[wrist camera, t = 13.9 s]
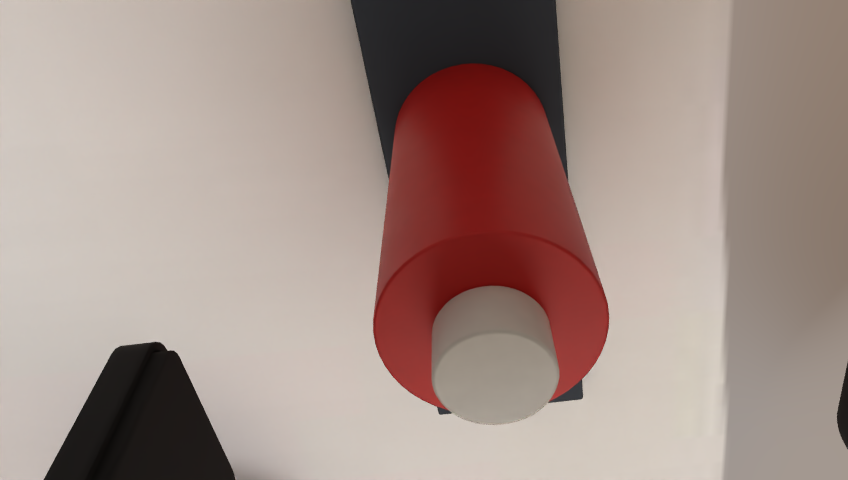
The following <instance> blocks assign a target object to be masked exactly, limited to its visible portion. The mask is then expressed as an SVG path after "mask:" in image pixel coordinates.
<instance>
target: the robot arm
mask: <svg viewBox="0 0 848 480" xmlns="http://www.w3.org/2000/svg"><path fill="white" fill-rule="evenodd" d="M837 423H838V428H839V432H840V434H841V437H842V440H843V441H844V443H845V445H846V447H847V449H848V364H847V368H846V373H845V378H844V383H843V387H842V392H841V397H840V402H839V407H838V412H837ZM44 480H235V477H234V473H233V470H232V468H231V466H230V463H229V461H228V459H227V457H226V455H225V453H224V451H223V449H222V446H221V444H220V442H219V440H218V438H217V436H216V434H215V432H214V429H213V427H212V425H211V423H210V421H209V419H208V417H207V415H206V412H205V410H204V408H203V406H202V404H201V402H200V400H199V398H198V395H197V393H196V391H195V389H194V387H193V385H192V383H191V381H190V378H189V376H188V374H187V372H186V370H185V368H184V366H183V364H182V361H181V359H180V357H179V356H178V354H177V353H176V352H175V351H167V349H166V348H165V346H164V345H163V344H161V343H160V342H152V343H143V344H135V345H126V346H120V347H118V348H116V349H115V350H114V351H113V353H112V354H111V356H110V358H109V360H108V362H107V363H106V365H105V367H104V369H103V371H102V373H101V374H100V376H99V378H98V380H97V382H96V384H95V386H94V387H93V389H92V391H91V393H90V395H89V397H88V399H87V400H86V402H85V404H84V406H83V408H82V410H81V412H80V413H79V415H78V417H77V419H76V421H75V423H74V425H73V426H72V428H71V430H70V432H69V434H68V436H67V438H66V439H65V441H64V443H63V445H62V447H61V449H60V451H59V452H58V454H57V456H56V458H55V460H54V462H53V464H52V465H51V467H50V469H49V471H48V473H47V475H46V476H45V478H44Z"/></svg>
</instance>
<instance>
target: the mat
mask: <svg viewBox="0 0 848 480" xmlns="http://www.w3.org/2000/svg"><path fill="white" fill-rule="evenodd" d="M351 4H352V9H353V14H354V18H355V23H356V28H357V32H358V37H359V42H360V47H361V51H362V56H363V61H364V65H365V70H366V75H367V79H368V84H369V89H370V93H371V98H372V103H373V107H374V112H375V117H376V122H377V126H378V131H379V136H380V140H381V145H382V150H383V154H384V159H385V164H386V168H387V173H388V178H389V177H390V169H391V160H392V151H393V142H394V133H395V126H396V121H397V117H398V114H399V111H400V109H401V107H402V105H403V103H404V101H405V100H406V98H407V97H408V95H409V94H410V93H411V92H412V91H413V89H414V88H415V87H416V86H417V85H418V84H420V83H421V82H422V81H423V80H425V79H426V78H427V77H429V76H430V75H432V74H434V73H436V72H438V71H440V70H442V69H445V68H448V67H451V66H456V65H460V64H470V63H474V64H486V65H492V66H495V67H499V68H502V69H504V70H507V71H509V72H511V73H513V74H514V75H516V76H517V77H519V78H521V79H522V80H523V81H524V82H525V83H526V84H528V85H529V86H530V88H531V89H532V90H533V91H534V92H535V94H536V95H537V97H538V98H539V100H540V102H541V104H542V106H543V108H544V111H545V114H546V117H547V120H548V123H549V126H550V129H551V132H552V135H553V138H554V141H555V144H556V147H557V150H558V153H559V156H560V159H561V162H562V165H563V168H564V171H565V175H566V178H567V181H568V173H567V159H566V144H565V130H564V115H563V101H562V86H561V72H560V57H559V43H558V29H557V14H556V0H351ZM582 398H583V390H582V379H581V380H580V381H579V382H578V383H577V384H576V385H575V386H573V387H572V388H571V389H570V390H568V391H567V392H565V393H564V394H562V395H560V396H559V397H557V398H555V399H553V400H551V401H549V402H548V403H551V402H560V401H569V400H578V399H582ZM437 408H438V412H439V414H441V415H442V414H451V413H452V412H450V411H449V410H446V409H443V408H440V407H437Z"/></svg>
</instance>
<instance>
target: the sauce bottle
mask: <svg viewBox="0 0 848 480" xmlns="http://www.w3.org/2000/svg"><path fill="white" fill-rule="evenodd" d="M608 328H609V311H608V303H607V300H606V297H605V293H604V290H603V287H602V284H601V281H600V278H599V275H598V272H597V269H596V266H595V263H594V260H593V257H592V254H591V251H590V248H589V245H588V241H587V238H586V235H585V232H584V229H583V226H582V223H581V220H580V217H579V214H578V211H577V208H576V205H575V202H574V199H573V196H572V193H571V190H570V187H569V184H568V181H567V178H566V175H565V171H564V168H563V165H562V162H561V159H560V156H559V153H558V150H557V147H556V144H555V141H554V138H553V135H552V132H551V129H550V126H549V123H548V120H547V117H546V114H545V111H544V108H543V106H542V104H541V102H540V100H539V98H538V97H537V95H536V94H535V92H534V91H533V90H532V89H531V88H530V86H529V85H528V84H526V83H525V82H524V81H523V80H522V79H521V78H519V77H517V76H516V75H514V74H513V73H511V72H509V71H507V70H504V69H502V68H499V67H495V66H492V65H486V64H474V63H470V64H460V65H456V66H451V67H448V68H445V69H442V70H440V71H438V72H436V73H434V74H432V75H430V76H429V77H427V78H426V79H425V80H423V81H422V82H421V83H420V84H418V85H417V86H416V87H415V88H414V89H413V91H412V92H411V93H410V94H409V95H408V97H407V98H406V100H405V101H404V103H403V105H402V107H401V109H400V111H399V114H398V117H397V121H396V126H395V133H394V142H393V151H392V160H391V169H390V177H389V186H388V195H387V204H386V213H385V221H384V230H383V239H382V248H381V257H380V265H379V274H378V283H377V292H376V301H375V309H374V318H373V333H374V338H375V344H376V347H377V350H378V353H379V355H380V357H381V359H382V361H383V363H384V365H385V367H386V368H387V369H388V371H389V372H390V373H391V375H392V376H393V377H394V378H395V379H396V380H397V381H398V382H399V383H400V384H401V385H402V386H403V387H404V388H405V389H407V390H408V391H409V392H410V393H412V394H413V395H415V396H417V397H418V398H420V399H422V400H423V401H426V402H428V403H430V404H432V405H434V406H437V407H440V408H443V409H446V410H449V411H450V412H452V413H453V414H455V415H456V416H458V417H460V418H462V419H465V420H468V421H471V422H475V423H479V424H488V425H498V424H507V423H512V422H516V421H519V420H522V419H525V418H527V417H529V416H531V415H533V414H534V413H536V412H538V411H539V410H540V409H541V408H543V407H544V406H545V405H546V404H547V403H548V402H549V401H551V400H553V399H555V398H557V397H559V396H560V395H562V394H564V393H565V392H567V391H568V390H570V389H571V388H572V387H573V386H575V385H576V384H577V383H578V382H579V381H580V380H581V379H582V378H583V377H584V376H585V375H586V374H587V373H588V372H589V371H590V369H591V368H592V367H593V365H594V364H595V363H596V361H597V359H598V357H599V356H600V354H601V352H602V349H603V347H604V344H605V341H606V338H607V333H608Z"/></svg>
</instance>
